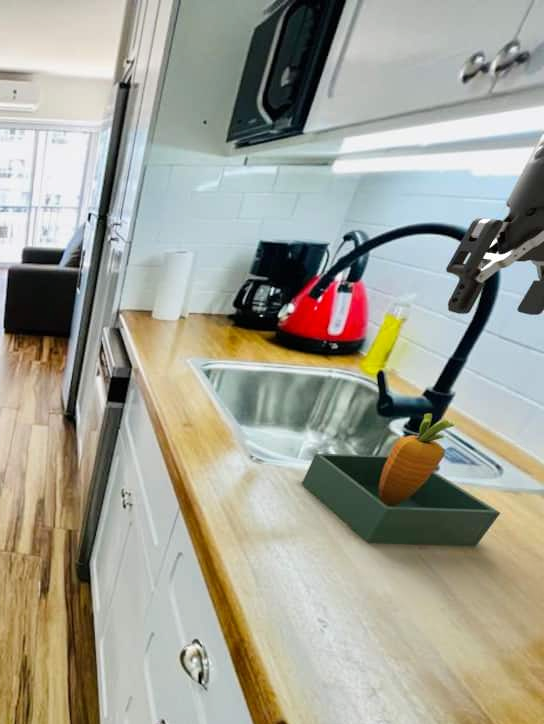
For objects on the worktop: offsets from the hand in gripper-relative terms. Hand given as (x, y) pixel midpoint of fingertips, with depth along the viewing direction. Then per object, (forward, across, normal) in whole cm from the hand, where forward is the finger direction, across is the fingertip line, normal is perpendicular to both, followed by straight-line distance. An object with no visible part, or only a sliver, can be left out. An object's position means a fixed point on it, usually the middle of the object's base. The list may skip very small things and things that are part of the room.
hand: (492, 313), depth 59 cm
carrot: (+28, -4, -4) cm, 28 cm away
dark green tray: (+28, -4, -4) cm, 28 cm away
